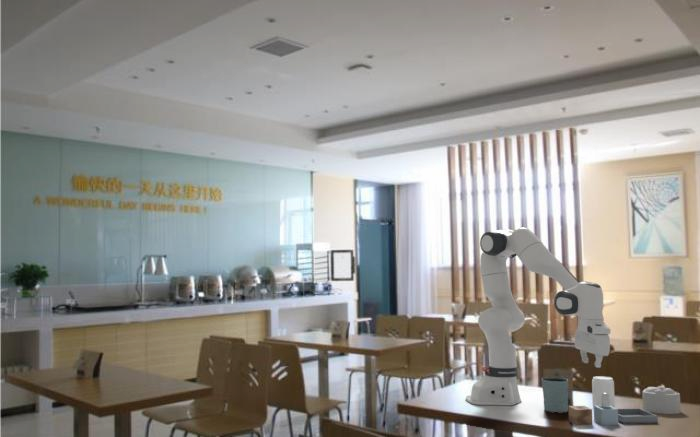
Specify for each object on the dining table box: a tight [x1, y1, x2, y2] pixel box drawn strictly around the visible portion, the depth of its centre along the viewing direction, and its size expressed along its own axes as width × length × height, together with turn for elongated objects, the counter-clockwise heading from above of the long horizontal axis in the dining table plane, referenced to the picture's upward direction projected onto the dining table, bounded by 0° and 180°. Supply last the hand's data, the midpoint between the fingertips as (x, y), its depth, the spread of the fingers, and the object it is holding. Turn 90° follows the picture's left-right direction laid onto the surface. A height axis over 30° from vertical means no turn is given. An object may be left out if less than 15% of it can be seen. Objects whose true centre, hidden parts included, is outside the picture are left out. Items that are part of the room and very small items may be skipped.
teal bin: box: [541, 376, 569, 414], centre depth 245 cm, size 10×10×12 cm
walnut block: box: [568, 405, 593, 426], centre depth 225 cm, size 6×6×6 cm
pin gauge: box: [601, 393, 610, 409], centre depth 226 cm, size 3×3×9 cm
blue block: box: [593, 406, 619, 426], centre depth 226 cm, size 6×6×6 cm
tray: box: [617, 407, 659, 425], centre depth 230 cm, size 13×12×2 cm
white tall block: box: [591, 375, 616, 408], centre depth 247 cm, size 8×8×12 cm
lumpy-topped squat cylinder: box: [641, 385, 682, 415], centre depth 244 cm, size 10×13×9 cm
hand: (591, 365), depth 227 cm, fingers open, 8 cm apart
